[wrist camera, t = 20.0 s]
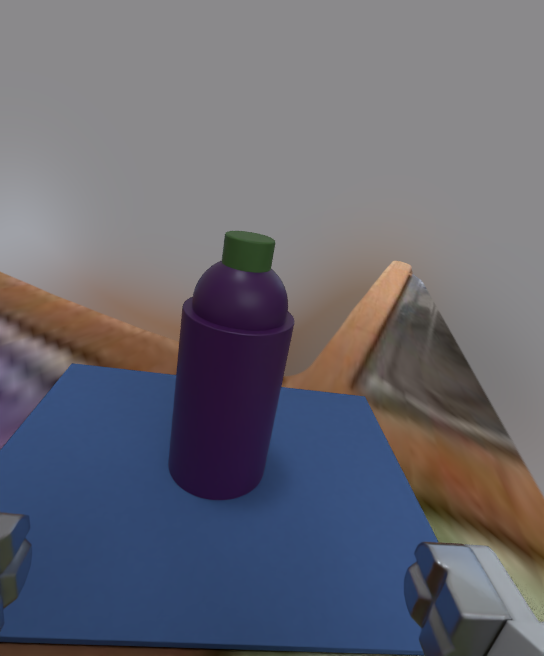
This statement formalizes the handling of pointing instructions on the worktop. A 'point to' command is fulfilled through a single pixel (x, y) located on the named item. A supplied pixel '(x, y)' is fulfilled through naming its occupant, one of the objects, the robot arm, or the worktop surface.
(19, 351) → the worktop surface
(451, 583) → the robot arm
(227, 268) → the purple bottle
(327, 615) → the napkin
